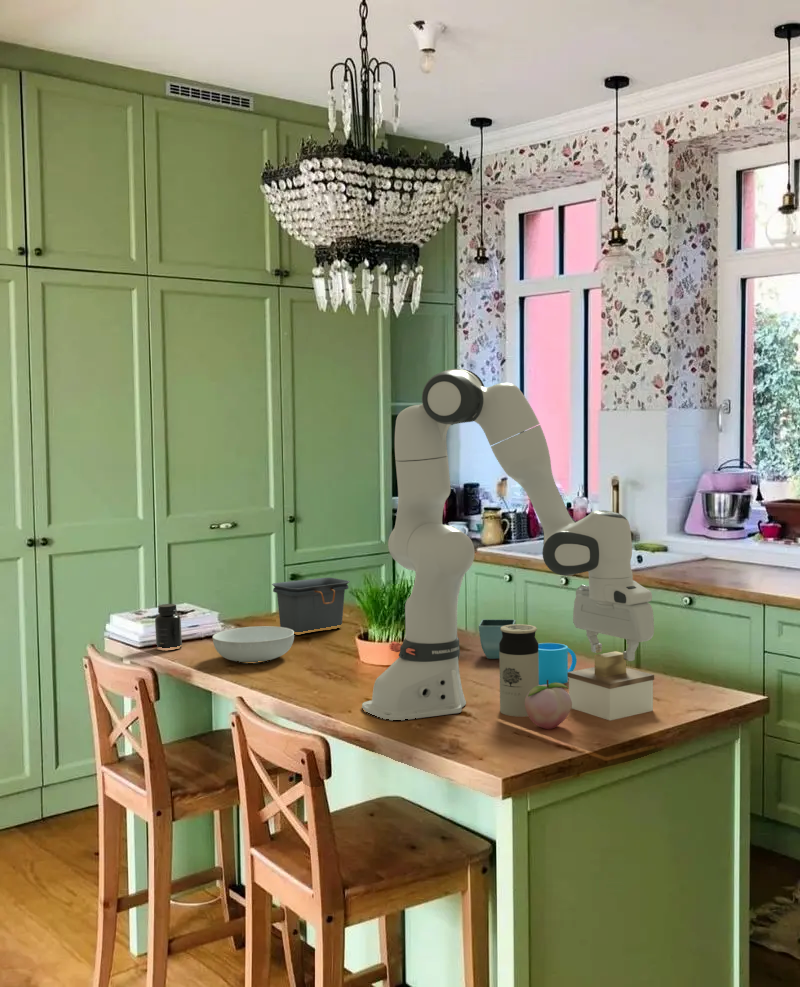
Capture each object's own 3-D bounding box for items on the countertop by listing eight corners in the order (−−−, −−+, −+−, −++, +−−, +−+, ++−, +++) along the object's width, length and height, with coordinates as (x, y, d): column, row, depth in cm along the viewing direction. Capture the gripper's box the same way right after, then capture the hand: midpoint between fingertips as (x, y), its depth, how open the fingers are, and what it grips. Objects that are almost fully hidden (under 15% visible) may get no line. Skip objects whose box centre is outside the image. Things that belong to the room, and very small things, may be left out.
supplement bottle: (166, 645, 296) (165, 602, 295) (187, 647, 293) (185, 603, 292) (150, 650, 290) (149, 606, 289) (171, 652, 287) (169, 608, 286)
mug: (547, 687, 243) (547, 652, 242) (525, 680, 250) (524, 645, 249) (587, 680, 249) (587, 645, 249) (564, 673, 256) (564, 639, 256)
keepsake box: (610, 723, 214) (609, 688, 213) (569, 710, 224) (568, 676, 223) (652, 713, 220) (652, 679, 220) (611, 701, 230) (611, 668, 230)
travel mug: (517, 706, 227) (516, 622, 226) (546, 713, 222) (546, 627, 220) (492, 714, 222) (491, 627, 221) (521, 721, 216) (520, 633, 215)
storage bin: (327, 622, 325) (326, 575, 324) (359, 629, 313) (358, 581, 312) (268, 632, 311) (267, 583, 310) (299, 640, 300) (298, 589, 299)
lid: (609, 689, 213) (609, 664, 213) (567, 676, 224) (567, 653, 223) (654, 679, 220) (654, 655, 220) (611, 668, 230) (611, 645, 230)
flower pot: (478, 660, 271) (478, 625, 270) (482, 653, 280) (481, 618, 279) (513, 661, 269) (513, 626, 269) (516, 653, 278) (515, 619, 277)
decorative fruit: (548, 721, 216) (548, 672, 216) (579, 730, 210) (578, 679, 209) (514, 729, 211) (514, 679, 210) (544, 739, 204) (544, 687, 203)
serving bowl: (268, 647, 291) (267, 622, 291) (310, 660, 275) (309, 633, 274) (198, 659, 279) (198, 632, 278) (238, 673, 262) (237, 645, 262)
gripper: (565, 585, 227) (566, 649, 228) (635, 597, 210) (637, 667, 211) (587, 581, 231) (589, 645, 232) (658, 593, 213) (659, 662, 215)
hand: (612, 656), depth 221 cm, fingers open, 8 cm apart
